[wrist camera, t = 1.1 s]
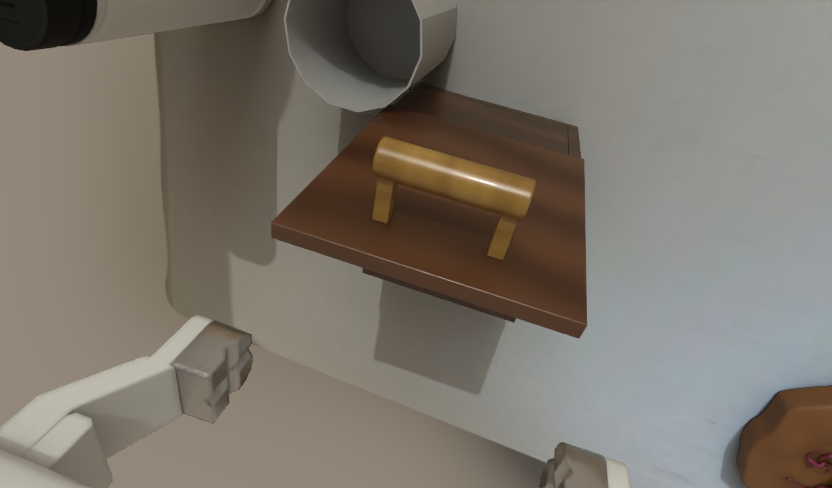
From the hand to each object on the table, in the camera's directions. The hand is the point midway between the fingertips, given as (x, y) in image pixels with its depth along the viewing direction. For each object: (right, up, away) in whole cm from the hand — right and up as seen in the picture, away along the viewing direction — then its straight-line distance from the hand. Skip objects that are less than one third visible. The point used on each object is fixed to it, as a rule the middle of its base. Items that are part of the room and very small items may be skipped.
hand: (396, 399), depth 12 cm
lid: (+3, +6, +12) cm, 14 cm away
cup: (-1, +21, +23) cm, 31 cm away
